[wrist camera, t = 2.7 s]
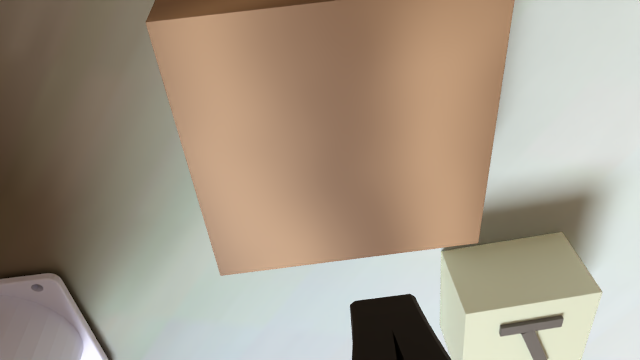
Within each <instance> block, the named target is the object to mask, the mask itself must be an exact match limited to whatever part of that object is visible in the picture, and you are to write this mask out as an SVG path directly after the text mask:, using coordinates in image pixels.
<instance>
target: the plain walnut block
mask: <svg viewBox="0 0 640 360" xmlns="http://www.w3.org/2000/svg"><path fill="white" fill-rule="evenodd" d="M513 7H514V0H155V3H154V5H153V7H152V9H151V11H150V14H149V16H148V18H147V20H146V26H147V29H148V33H149V36H150V39H151V43H152V46H153V49H154V53H155V56H156V60H157V63H158V66H159V70H160V73H161V76H162V80H163V83H164V86H165V90H166V93H167V97H168V100H169V103H170V107H171V110H172V113H173V117H174V120H175V124H176V127H177V130H178V134H179V137H180V140H181V144H182V147H183V151H184V154H185V157H186V161H187V164H188V167H189V171H190V174H191V178H192V181H193V184H194V188H195V191H196V194H197V198H198V201H199V204H200V208H201V211H202V215H203V218H204V221H205V225H206V228H207V231H208V235H209V238H210V242H211V245H212V248H213V252H214V255H215V258H216V262H217V265H218V269H219V272H220V275H221V276H223V275H230V274H238V273H246V272H254V271H262V270H270V269H278V268H286V267H293V266H301V265H309V264H317V263H325V262H333V261H341V260H349V259H357V258H364V257H372V256H380V255H388V254H396V253H404V252H412V251H420V250H427V249H435V248H443V247H451V246H459V245H467V244H475V243H478V241H479V234H480V227H481V221H482V214H483V207H484V201H485V194H486V187H487V181H488V174H489V167H490V160H491V154H492V147H493V140H494V134H495V127H496V120H497V114H498V107H499V100H500V94H501V87H502V80H503V74H504V67H505V60H506V53H507V47H508V40H509V33H510V27H511V20H512V13H513Z"/></svg>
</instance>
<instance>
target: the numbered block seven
mask: <svg viewBox="0 0 640 360" xmlns="http://www.w3.org/2000/svg"><path fill="white" fill-rule="evenodd" d="M601 295H602V291H601V289H600V288H599V286H598V285H597V283H596V282H595V280H594V279H593V277H592V276H591V274H590V273H589V271H588V270H587V268H586V267H585V265H584V264H583V262H582V261H581V259H580V258H579V256H578V255H577V253H576V252H575V250H574V249H573V247H572V246H571V244H570V243H569V241H568V240H567V238H566V237H565V235H564V234H563V232H557V233H551V234H545V235H539V236H533V237H526V238H520V239H514V240H508V241H502V242H495V243H489V244H483V245H477V246H471V247H464V248H458V249H452V250H446V251H441V287H440V327H441V330H442V333H443V336H444V339H445V342H446V345H447V348H448V351H449V354H450V357H451V360H581V358H582V355H583V352H584V349H585V346H586V342H587V339H588V336H589V333H590V330H591V327H592V324H593V320H594V317H595V314H596V311H597V308H598V305H599V302H600V298H601Z"/></svg>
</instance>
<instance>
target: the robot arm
mask: <svg viewBox="0 0 640 360" xmlns="http://www.w3.org/2000/svg"><path fill="white" fill-rule="evenodd" d="M38 284H39V285H38ZM350 312H351V326H352V340H353V350H352V360H451V358H450V357H449V355H448V354H447V352H446V351H445V349H444V347H443V346H442V344H441V343H440V341H439V339H438V338H437V336H436V335H435V333H434V331H433V330H432V328H431V326H430V325H429V323H428V321H427V319H426V317H425V316H424V314H423V312H422V310H421V308H420V306H419V304H418V302H417V300H416V298H415V297H414V296H413V295H411V294H406V295H398V296H390V297H382V298H375V299H367V300H359V301H354V302H353V303H352V304H351V305H350ZM0 360H108V358H107V356H106V355H105V353H104V351H103V350H102V348H101V346H100V344H99V343H98V341H97V339H96V338H95V336H94V334H93V332H92V331H91V329H90V327H89V326H88V324H87V322H86V320H85V319H84V317H83V315H82V313H81V312H80V310H79V308H78V307H77V305H76V303H75V301H74V300H73V298H72V296H71V295H70V293H69V291H68V289H67V288H66V286H65V284H64V283H63V281H62V279H61V278H60V277H59V276H57V275H56V274H52V273H45V274H37V275H29V276H21V277H13V278H5V279H0Z"/></svg>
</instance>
